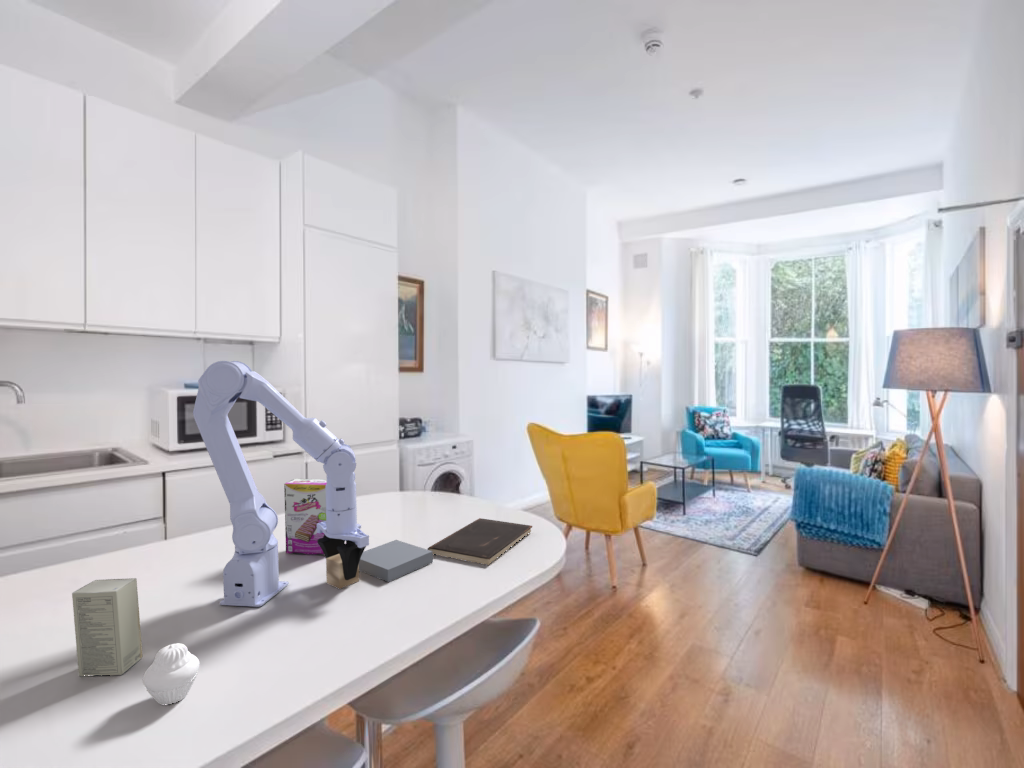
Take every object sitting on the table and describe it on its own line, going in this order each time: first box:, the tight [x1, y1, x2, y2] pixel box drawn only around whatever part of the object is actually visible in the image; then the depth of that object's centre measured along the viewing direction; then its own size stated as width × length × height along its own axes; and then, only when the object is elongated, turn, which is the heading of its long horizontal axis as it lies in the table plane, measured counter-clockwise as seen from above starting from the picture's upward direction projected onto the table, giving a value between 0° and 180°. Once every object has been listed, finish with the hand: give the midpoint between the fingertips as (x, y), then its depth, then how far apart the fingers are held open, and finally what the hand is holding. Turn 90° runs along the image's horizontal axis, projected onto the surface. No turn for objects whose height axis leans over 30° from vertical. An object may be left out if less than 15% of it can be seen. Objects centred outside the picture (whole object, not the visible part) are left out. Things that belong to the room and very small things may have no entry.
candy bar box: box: [283, 478, 327, 556], centre depth 115 cm, size 11×5×16 cm, turn 84°
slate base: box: [359, 539, 434, 583], centre depth 108 cm, size 12×12×2 cm
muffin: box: [142, 642, 200, 706], centre depth 65 cm, size 6×6×7 cm
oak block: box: [325, 554, 360, 590], centre depth 99 cm, size 4×4×5 cm
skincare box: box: [71, 577, 143, 677], centre depth 72 cm, size 6×4×12 cm
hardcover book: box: [427, 517, 533, 566], centre depth 121 cm, size 16×23×2 cm
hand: (342, 575), depth 99 cm, fingers closed on oak block, 4 cm apart
